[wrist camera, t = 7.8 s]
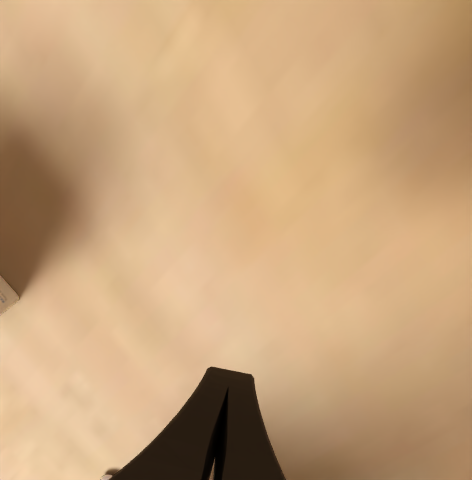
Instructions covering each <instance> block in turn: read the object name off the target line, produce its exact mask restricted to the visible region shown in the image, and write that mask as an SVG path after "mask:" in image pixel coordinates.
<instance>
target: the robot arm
mask: <svg viewBox="0 0 472 480" xmlns="http://www.w3.org/2000/svg"><path fill="white" fill-rule="evenodd" d="M214 459H215V464H214V475H213V480H286V479H285V477H284V474H283V472H282V470H281V468H280V466H279V463H278V461H277V458H276V456H275V453H274V451H273V448H272V446H271V443H270V440H269V438H268V435H267V432H266V429H265V425H264V422H263V419H262V416H261V412H260V409H259V405H258V400H257V396H256V391H255V384H254V378H253V376H252V375H251V374H246V373H241V372H236V371H231V370H226V369H221V368H216V367H210V368H208V369H207V370H206V373H205V375H204V377H203V378H202V380H201V382H200V383H199V385H198V387H197V388H196V390H195V391H194V393H193V394H192V395H191V397H190V398H189V399H188V401H187V402H186V403H185V405H184V406H183V407H182V409H181V410H180V411H179V412H178V414H177V415H176V416H175V417H174V418H173V419H172V420H171V422H170V423H169V424H168V425H167V426H166V427H165V428H164V430H163V431H162V432H161V433H160V434H159V435H158V436H157V437H156V438H155V439H154V440H153V441H152V442H151V443H150V444H149V445H148V446H147V447H146V448H145V449H144V450H143V451H142V452H141V453H140V454H138V455H137V456H136V457H135V458H134V459H133V460H132V461H130V462H129V463H128V464H127V465H126V466H125V467H123V468H122V469H121V470H120V471H119V472H117V473H116V474H115V475H114V476H113V475H103V476H102V477H101V479H100V480H209V477H210V473H211V470H212V466H213V463H214Z"/></svg>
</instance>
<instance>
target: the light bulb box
mask: <svg viewBox="0 0 472 480" xmlns="http://www.w3.org/2000/svg"><path fill="white" fill-rule="evenodd" d="M18 300H19V296H18V295H17V293H16V292H15V291H14V290H13V289H12V288H11V287H10V286H9V284H8V283H7V282H6V281H5V280H4V279H3V278H2V277H1V276H0V315H1V314H2V313H4V312H5V311H6V310H7V309H9V308H10V307H11V306H13V305H14V304H15V303H16V302H17V301H18Z"/></svg>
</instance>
